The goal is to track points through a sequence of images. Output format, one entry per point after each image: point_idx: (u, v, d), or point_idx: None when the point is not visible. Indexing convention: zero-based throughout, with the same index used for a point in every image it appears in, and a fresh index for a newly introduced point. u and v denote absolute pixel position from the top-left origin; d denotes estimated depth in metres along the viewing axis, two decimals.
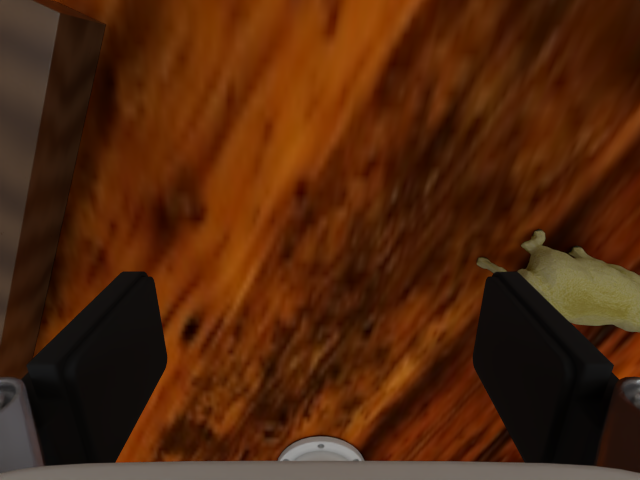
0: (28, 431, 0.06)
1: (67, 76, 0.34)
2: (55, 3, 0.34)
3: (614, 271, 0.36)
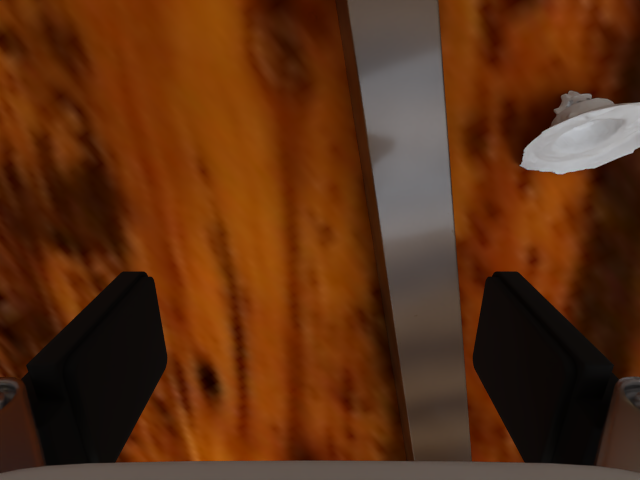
0: (28, 431, 0.06)
1: None
2: None
3: None
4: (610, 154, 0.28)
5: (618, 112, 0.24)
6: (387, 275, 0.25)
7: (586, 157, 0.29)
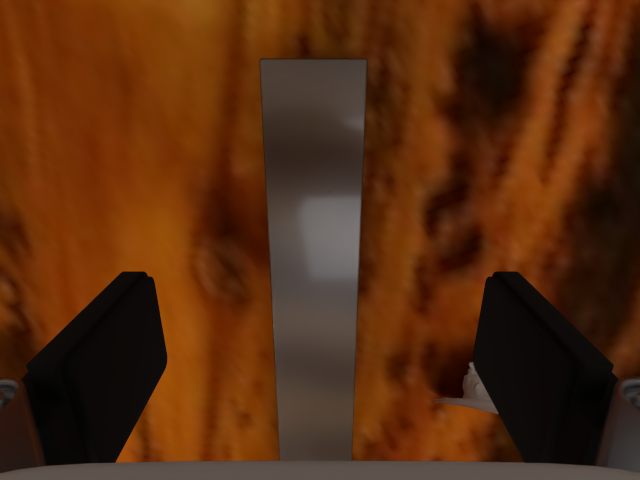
0: (28, 431, 0.06)
1: None
2: None
3: None
4: None
5: None
6: None
7: None
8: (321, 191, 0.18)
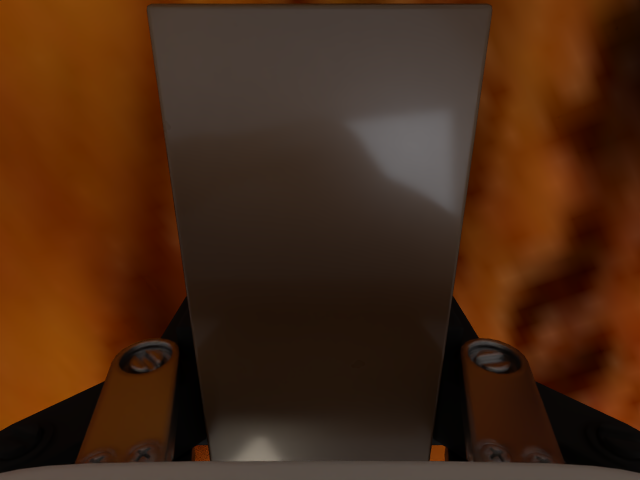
0: None
1: None
2: None
3: None
4: None
5: None
6: None
7: None
8: (339, 361, 0.07)
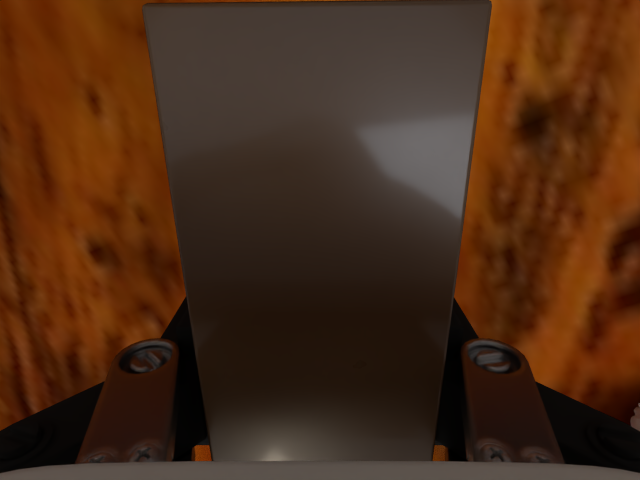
0: None
1: None
2: None
3: None
4: None
5: None
6: None
7: None
8: (341, 362, 0.07)
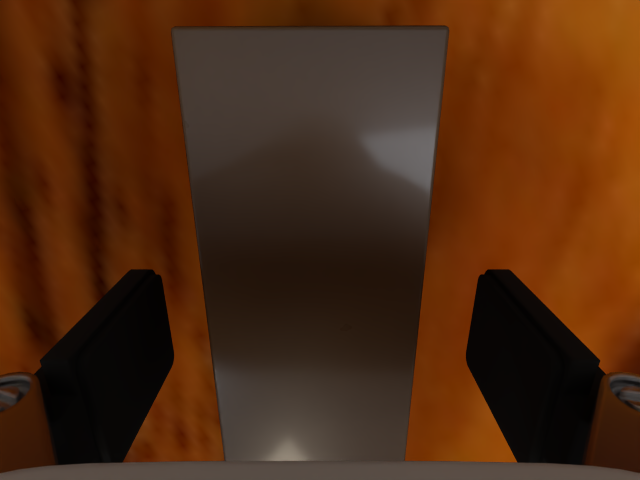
0: (44, 424, 0.06)
1: None
2: None
3: None
4: None
5: None
6: None
7: None
8: (330, 325, 0.08)
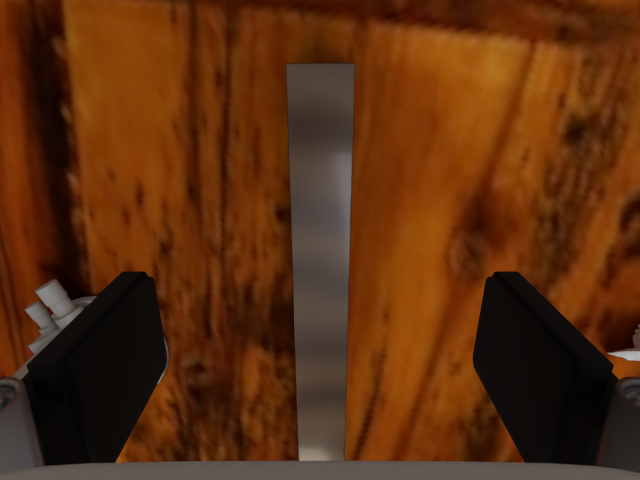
0: (28, 431, 0.06)
1: None
2: None
3: None
4: None
5: None
6: (297, 395, 0.36)
7: None
8: (325, 150, 0.28)
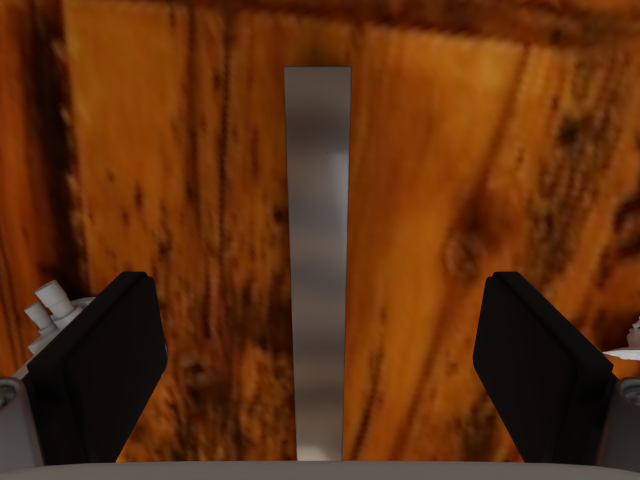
0: (28, 431, 0.06)
1: None
2: None
3: None
4: None
5: None
6: (295, 394, 0.36)
7: None
8: (323, 152, 0.28)
